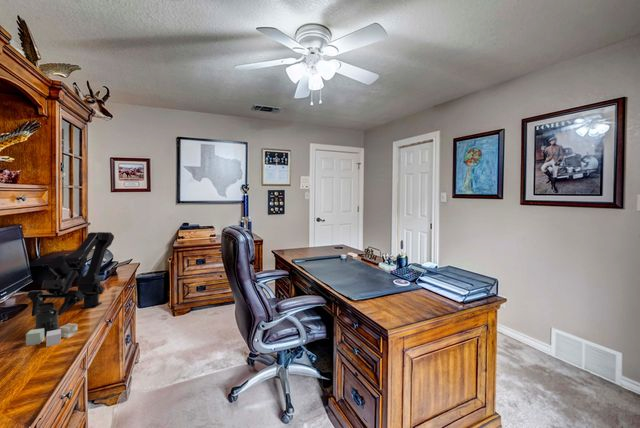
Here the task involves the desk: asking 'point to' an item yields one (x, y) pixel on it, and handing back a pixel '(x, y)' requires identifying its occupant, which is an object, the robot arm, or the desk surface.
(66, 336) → the birch block
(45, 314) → the supplement bottle
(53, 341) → the grey plastic block
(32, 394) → the desk surface
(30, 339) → the sage block
